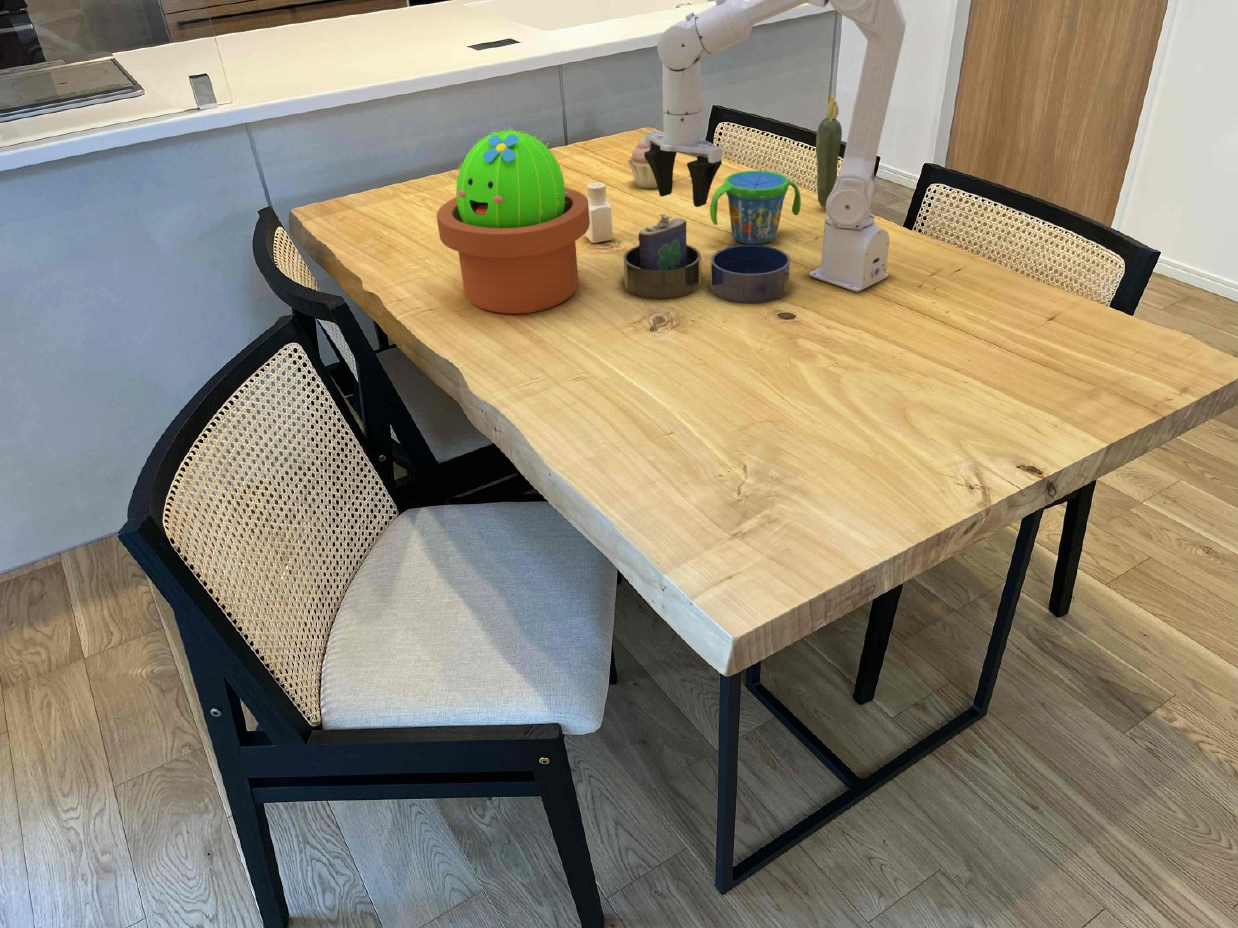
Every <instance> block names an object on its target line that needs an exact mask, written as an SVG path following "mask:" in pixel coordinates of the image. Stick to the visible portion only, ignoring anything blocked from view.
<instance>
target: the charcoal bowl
mask: <svg viewBox="0 0 1238 928" xmlns="http://www.w3.org/2000/svg"><path fill="white" fill-rule="evenodd" d="M686 245H687V248H686V256H687V266H685V267H681V268H677V269H671V270H649V269H642V268H640V250H639V245H636V246H634V247H632V248H630V249H628V250H627V251H625V252H624V254H623V256H622V257H623V281H624V288H625V289H626V291H627V292H629V293H631V294H632V295H634V296H637V297H640V298H645V299H651V300H669V299H677V298H681V297H684V296H688V295H690V294H692V293H695V292H696V291H697V290H698V289H699V288H700V286H701V283H702V254H701V252H700V251H699V250H698V249H697V248H696V247H694V246H692V245H689V244H686Z"/></svg>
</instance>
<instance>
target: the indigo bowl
mask: <svg viewBox="0 0 1238 928" xmlns="http://www.w3.org/2000/svg"><path fill="white" fill-rule="evenodd" d="M791 263H792V259H791V257H790V255H789V254H788V253H786V251H783V250H782V249H779V248H777V247H772V246H767V245H761V244H753V245H750V244H741V245H740V244H739V245H734V246H729V247H725V248H722V249H720V250H718V251H716V252H714V254H712V256H711V257H710V280H709V281H710V283H709V285H710V290H711V293H713V294H714V295H715V296H717V297H718V298H720V299H722V300H725V301H728V302H733V303H738V304H739V303H740V304H761V303H769V302H772V301H775V300H778V299H780V298H782V297H783V296H785V295H786V294H787V293H788V291H789V287H790V280H791V279H790V278H791Z"/></svg>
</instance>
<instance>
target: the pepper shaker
mask: <svg viewBox="0 0 1238 928" xmlns="http://www.w3.org/2000/svg"><path fill="white" fill-rule="evenodd" d="M606 187H607V186H606V183H604V182H599V181H596V182H590V183H588V184H586V193H587V197H586V198H587V200H588V205H589V220H590V225H589V228H588V230H587V232H586V233H585V237H586V238H587V239H588V240H589V241H590V242H591V243H592V244H597V243H603V242H607V241H611V240H613V237H614V235H613V217H612V216H613V214H612V205H611V204H610V203H609V202H608V201H607V191H606V190H607V188H606Z"/></svg>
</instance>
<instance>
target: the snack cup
mask: <svg viewBox="0 0 1238 928" xmlns="http://www.w3.org/2000/svg"><path fill="white" fill-rule="evenodd" d="M789 186H791V187H792V188H793V190H794V198H793V203H792V207H791V213H792V214H793V215H795V216H798V215H800V211H801V206H802V205H801V204H802V199H801V192H800V189H799V187H798V186H797V184H796V183H795V182H793V181H792V180H790V179H789V178H788V177H787V176H785V175H784V174H782V173H778V172H774V171H766V170H743V171H739V172H735V173H732V174H730V175H728V176H727V177H725V181H724V183H722V184H721V185H720V186H719V187H718V188H717V189H716V190H715V192H714V194H713V195H712V198H711V201H710V207H709V215H710V219H711V222H712V224H713V225H715V226H717V225H718V219H717V216H718V202H719V199H720V197H722V195H724V194H726V196H727V201H728V212H729V214H728V215H729V220H730V229H731V235H732V238H733V240H734V241H737V242H739V243H742V244H745V245H761V244H765V243H772V242H773V241H774V239H775V238H776V237H777V235H778V229H779V225H780V221H781V217H782V209H783V207H784V200H785V197H786V194H787V192H788V191H789V190H788V189H789Z"/></svg>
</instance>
